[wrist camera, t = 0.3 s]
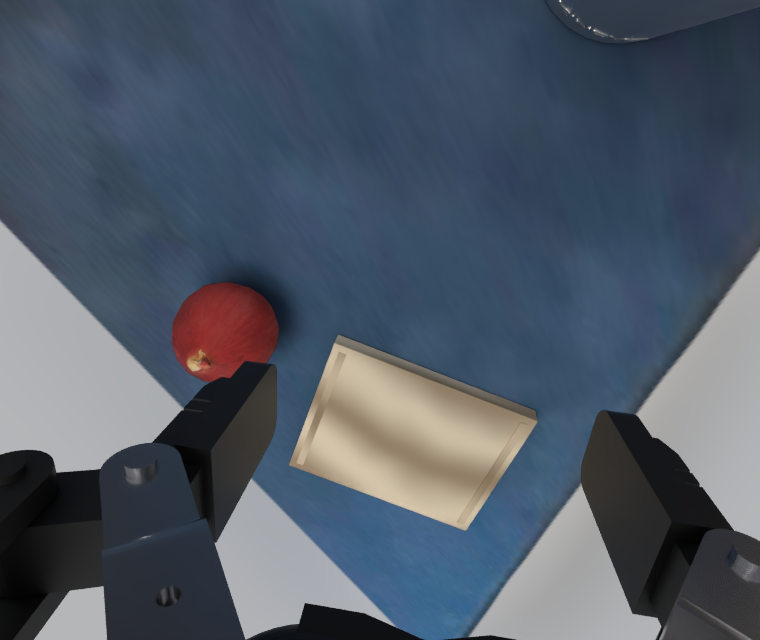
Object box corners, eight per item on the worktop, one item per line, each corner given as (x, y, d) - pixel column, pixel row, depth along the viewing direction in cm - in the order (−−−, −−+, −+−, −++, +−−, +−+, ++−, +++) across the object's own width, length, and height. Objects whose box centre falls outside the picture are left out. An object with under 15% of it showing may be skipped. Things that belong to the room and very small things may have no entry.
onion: (267, 361, 33) (217, 436, 25) (193, 315, 32) (120, 379, 25) (309, 298, 30) (267, 361, 23) (230, 247, 29) (161, 295, 22)
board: (338, 334, 31) (334, 343, 30) (534, 410, 32) (538, 422, 30) (293, 453, 36) (288, 465, 35) (465, 517, 36) (465, 531, 35)
